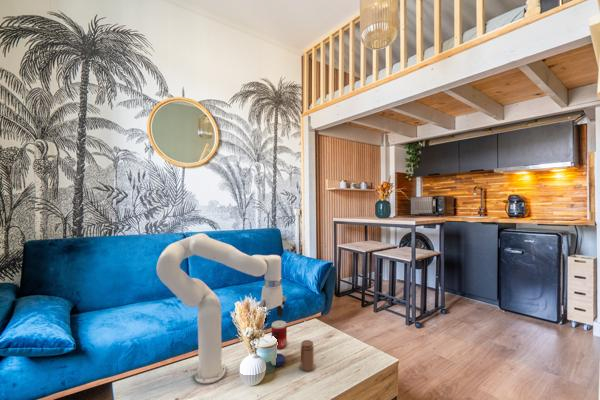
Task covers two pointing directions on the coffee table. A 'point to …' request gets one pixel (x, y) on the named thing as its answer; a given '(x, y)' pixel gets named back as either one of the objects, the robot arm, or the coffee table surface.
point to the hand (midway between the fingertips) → (272, 319)
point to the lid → (279, 360)
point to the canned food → (280, 333)
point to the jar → (307, 355)
